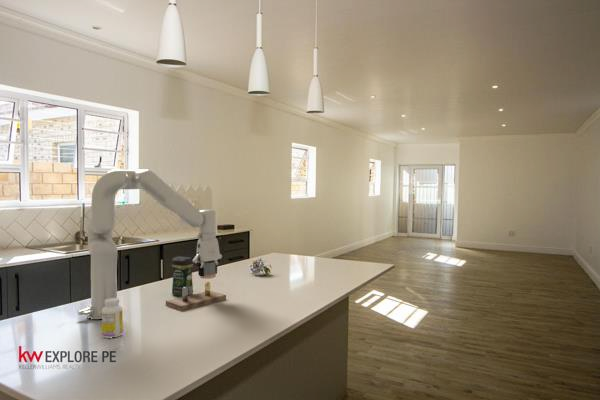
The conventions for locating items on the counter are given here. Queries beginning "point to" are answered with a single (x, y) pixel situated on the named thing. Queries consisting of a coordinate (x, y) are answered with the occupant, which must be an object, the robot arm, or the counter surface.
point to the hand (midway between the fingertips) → (207, 274)
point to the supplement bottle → (112, 318)
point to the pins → (185, 291)
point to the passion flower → (259, 267)
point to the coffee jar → (182, 275)
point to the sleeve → (209, 270)
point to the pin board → (195, 300)
